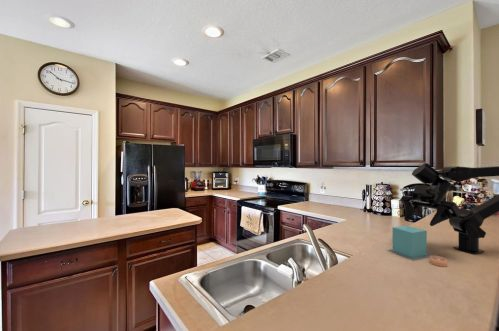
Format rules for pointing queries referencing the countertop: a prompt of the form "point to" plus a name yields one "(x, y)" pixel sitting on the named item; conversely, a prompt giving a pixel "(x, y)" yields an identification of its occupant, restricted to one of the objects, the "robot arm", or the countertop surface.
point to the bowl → (438, 261)
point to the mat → (413, 258)
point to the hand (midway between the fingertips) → (417, 222)
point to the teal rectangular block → (410, 241)
